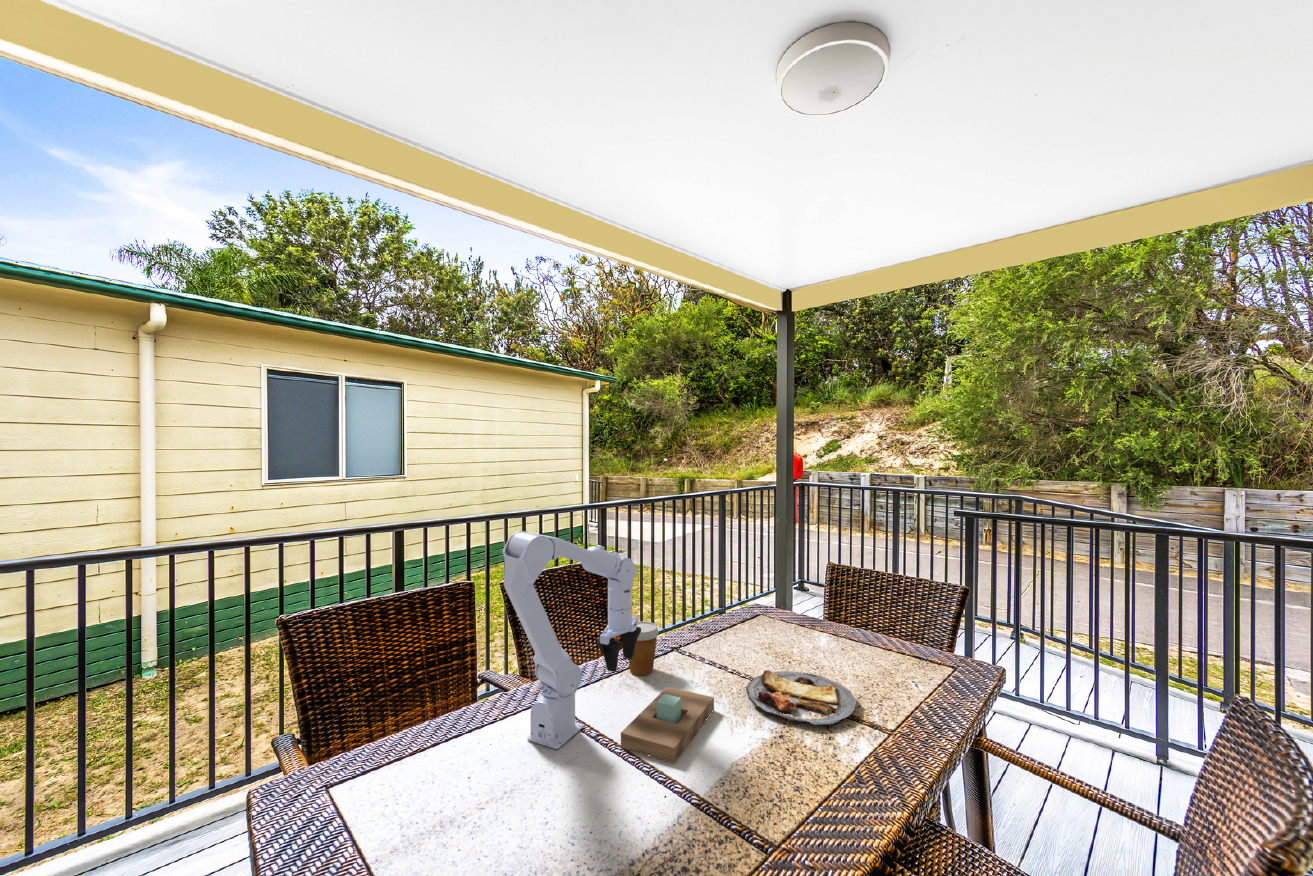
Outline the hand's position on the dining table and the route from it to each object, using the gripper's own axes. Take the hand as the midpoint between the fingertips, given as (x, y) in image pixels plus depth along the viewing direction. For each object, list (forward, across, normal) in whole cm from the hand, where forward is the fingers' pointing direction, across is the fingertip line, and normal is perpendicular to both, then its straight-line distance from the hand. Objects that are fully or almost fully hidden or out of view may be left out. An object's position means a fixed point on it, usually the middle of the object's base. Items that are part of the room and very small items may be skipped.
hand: (620, 664), depth 119 cm
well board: (+9, -4, -15) cm, 18 cm away
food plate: (+10, +20, -38) cm, 44 cm away
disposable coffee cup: (+10, +18, +4) cm, 21 cm away
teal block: (+10, -4, -15) cm, 18 cm away
